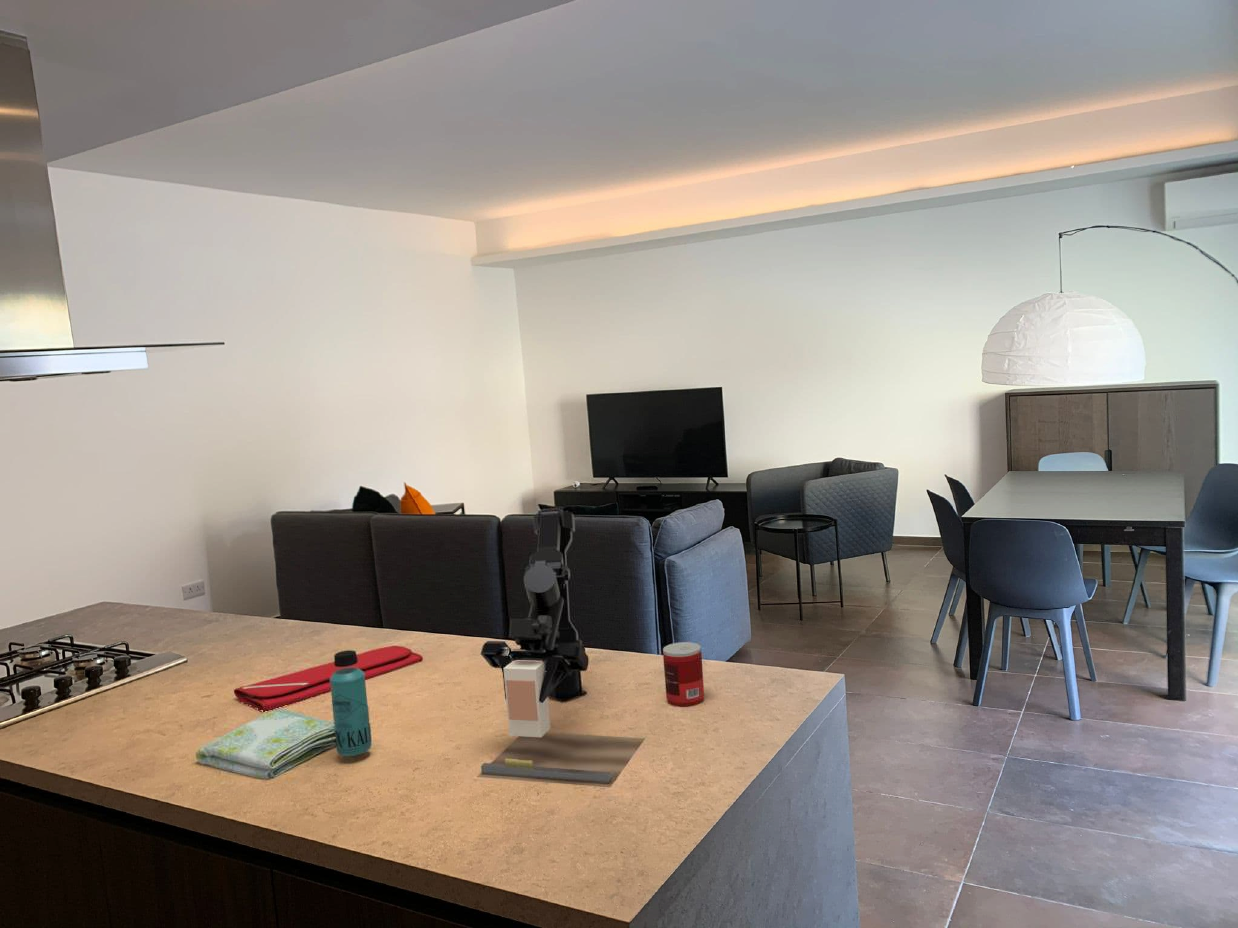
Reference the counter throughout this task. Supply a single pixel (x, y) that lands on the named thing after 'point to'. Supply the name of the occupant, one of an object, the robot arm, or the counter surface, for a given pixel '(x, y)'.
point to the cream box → (526, 699)
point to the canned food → (683, 674)
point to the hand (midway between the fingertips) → (523, 700)
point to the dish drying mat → (321, 678)
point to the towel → (269, 744)
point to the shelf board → (571, 754)
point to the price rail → (544, 772)
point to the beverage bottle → (350, 706)
